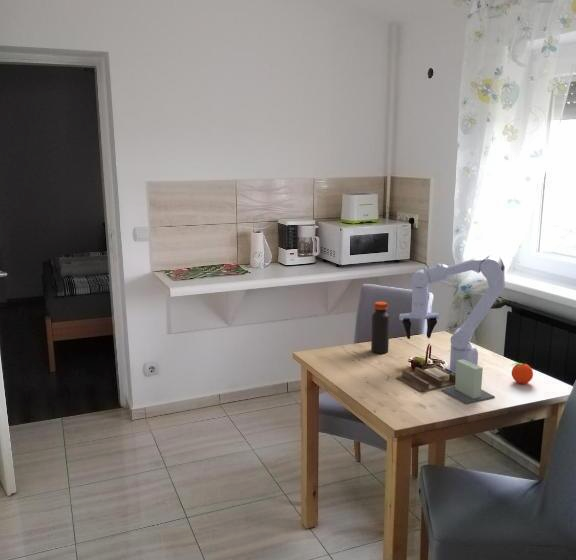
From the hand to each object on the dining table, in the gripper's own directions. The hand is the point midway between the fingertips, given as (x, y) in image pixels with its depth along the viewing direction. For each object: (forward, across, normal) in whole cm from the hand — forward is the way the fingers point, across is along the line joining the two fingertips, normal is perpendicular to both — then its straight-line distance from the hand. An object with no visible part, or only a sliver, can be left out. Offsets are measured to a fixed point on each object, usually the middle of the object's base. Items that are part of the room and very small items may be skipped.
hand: (418, 337), depth 223 cm
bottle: (+11, -11, +16) cm, 22 cm away
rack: (+10, -1, -16) cm, 20 cm away
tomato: (+11, +30, -21) cm, 38 cm away
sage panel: (+10, +8, -29) cm, 32 cm away
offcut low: (+10, +2, -15) cm, 18 cm away
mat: (+10, +8, -29) cm, 32 cm away
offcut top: (+9, +2, -15) cm, 18 cm away
